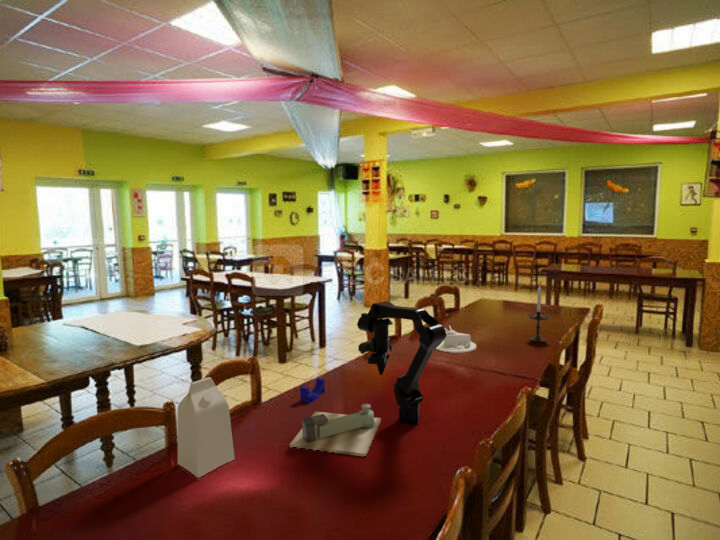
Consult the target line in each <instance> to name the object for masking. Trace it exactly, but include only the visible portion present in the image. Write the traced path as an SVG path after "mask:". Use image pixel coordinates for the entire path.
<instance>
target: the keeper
mask: <svg viewBox="0 0 720 540" xmlns="http://www.w3.org/2000/svg"><path fill="white" fill-rule="evenodd" d="M311 416H312V415H311ZM311 416H307V417H302V418H301V426H302V427H301V429H303V438H304V440H305V441H306V443H308V442H312V441H316V440H315V425H318V424H323V423H327V422H328V418H327V417H326V416H325V415H324V414H321V415H316V416H312V417H311Z"/></svg>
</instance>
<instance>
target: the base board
mask: <svg viewBox="0 0 720 540" xmlns="http://www.w3.org/2000/svg"><path fill="white" fill-rule="evenodd" d="M321 414H324V415H325V416H326V417H327V418H328V420H331V419H335V418H339V417H342V416H346V415H347V414H343V413H332V412H324V411H323V412H322V411H314V412H313V414H312V415H311V416H310V417H312V416H316V415H321ZM381 421H382V418H381V417H374V424H373V425H372V426H370V427H360V428H357V429H353V430H350V431H346V432H342V433H339V434H335V435H332V436H328V437H324V438H321V439H320V438H319V436H318V435H317V425H315V440H316V441H312V442H308V443H306V441H305V440H304V438H303V429H302V428H301V429H300V430H299V432H298V433H297V434H296V436H295V437H294V438H293V439H292V441H290V443H289V448H292V447H297V448H296V449H300V448H305V449H304V450H308V449H313V450H312V451H316V450H320V451H319V452H324V451H327V452H326V453H332V452H334V454H340V453H341V454H342V455H348V454H349V455H350V456H355V457H364V456H366V457H367V455H366V454H368V452H369V450H370V448H369V447H371V445H372V442H373V441H372V440H374V437H375V435H376V434H377V431H378V428H379V427H380V424H381ZM378 426H379V427H378ZM375 433H376V434H375ZM341 454H340V455H341ZM349 455H348V456H349Z"/></svg>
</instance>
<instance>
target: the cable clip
mask: <svg viewBox="0 0 720 540" xmlns="http://www.w3.org/2000/svg"><path fill="white" fill-rule="evenodd" d="M315 381H316V382H315V385H314V388H313V389H312V390H311V391H310V390H309V386H305V385H304V386H303V385H301V386H300V387H299V388H300V390H299V391H300V392H299V393H300V394H299V395H300V402H303V403H307V404H311V403H313V402H315V401H316V400H318V399H320V397H319V396H320V395H322V394H324V393H325V390H326V387H325V378H323V377H317V378H316V380H315Z"/></svg>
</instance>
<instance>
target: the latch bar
mask: <svg viewBox="0 0 720 540" xmlns="http://www.w3.org/2000/svg"><path fill="white" fill-rule="evenodd" d="M360 407H361V410H359V411H358V412H354V413H351V414H345V415H346V416H342V417H339V418H335V419H331V420H328V422H327V423H323V424H318V425H317V435H318V436H319V438H320V439H321V438H324V437H328V436H332V435H335V434H339V433H342V432H346V431H350V430H353V429H357V428H360V427H370V426H372V425H373V424H374V418H375V417H374V416H375V415H374V414H375V413H374V411H373V410H372V409H371V404H370V403H362V404H361V406H360Z"/></svg>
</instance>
